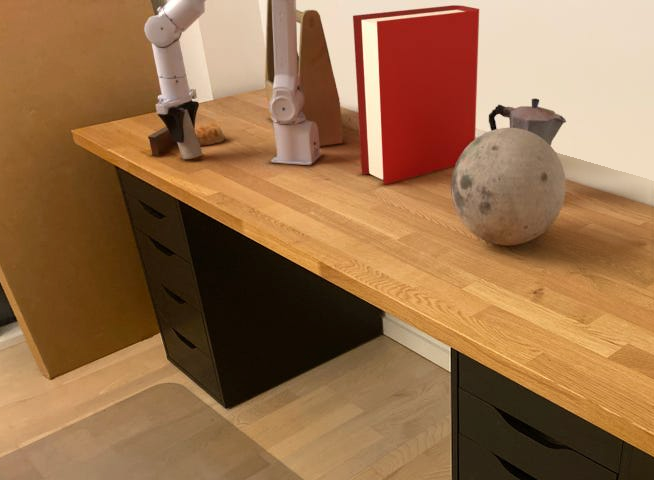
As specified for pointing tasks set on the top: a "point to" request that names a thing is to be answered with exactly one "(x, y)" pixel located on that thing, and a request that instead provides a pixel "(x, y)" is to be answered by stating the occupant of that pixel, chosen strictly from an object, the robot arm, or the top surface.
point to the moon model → (508, 186)
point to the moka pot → (530, 119)
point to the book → (415, 89)
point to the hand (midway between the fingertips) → (184, 138)
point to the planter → (189, 139)
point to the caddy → (310, 75)
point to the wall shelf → (161, 142)
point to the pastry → (209, 134)
